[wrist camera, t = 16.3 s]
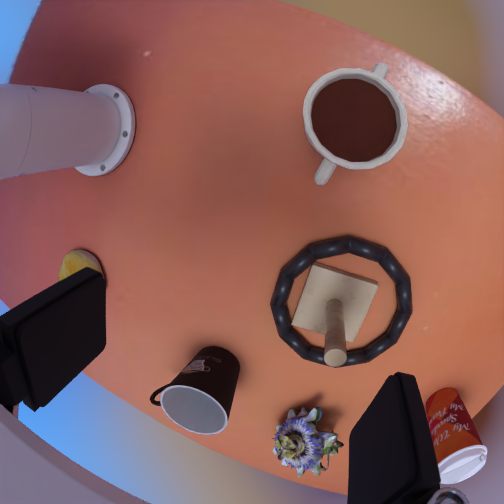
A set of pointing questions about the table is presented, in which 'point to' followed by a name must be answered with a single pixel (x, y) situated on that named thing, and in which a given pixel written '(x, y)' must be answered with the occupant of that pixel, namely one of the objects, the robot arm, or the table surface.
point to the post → (334, 308)
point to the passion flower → (304, 441)
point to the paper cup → (454, 437)
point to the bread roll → (77, 263)
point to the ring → (329, 250)
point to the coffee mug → (202, 392)
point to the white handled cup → (354, 120)
